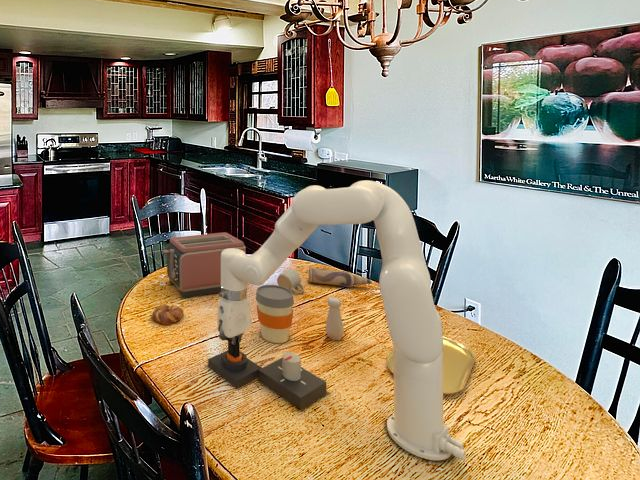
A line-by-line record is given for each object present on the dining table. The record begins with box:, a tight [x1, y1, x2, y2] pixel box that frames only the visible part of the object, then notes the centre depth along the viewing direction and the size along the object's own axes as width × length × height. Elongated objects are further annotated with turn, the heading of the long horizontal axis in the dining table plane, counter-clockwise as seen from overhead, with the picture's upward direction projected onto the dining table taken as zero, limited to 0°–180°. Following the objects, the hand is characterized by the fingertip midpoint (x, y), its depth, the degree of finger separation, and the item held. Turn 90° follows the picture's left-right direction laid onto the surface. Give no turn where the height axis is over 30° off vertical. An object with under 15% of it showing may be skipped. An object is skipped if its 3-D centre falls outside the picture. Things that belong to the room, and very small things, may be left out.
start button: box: [227, 353, 242, 362], centre depth 116 cm, size 4×4×2 cm
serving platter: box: [385, 336, 476, 396], centre depth 119 cm, size 19×35×2 cm, turn 134°
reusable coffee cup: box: [255, 284, 295, 344], centre depth 135 cm, size 13×13×15 cm
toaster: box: [162, 231, 247, 299], centre depth 177 cm, size 19×36×21 cm, turn 107°
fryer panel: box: [258, 357, 327, 410], centre depth 109 cm, size 14×11×3 cm
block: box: [207, 350, 262, 389], centre depth 116 cm, size 12×10×4 cm
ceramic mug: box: [276, 268, 305, 295], centre depth 172 cm, size 11×8×8 cm
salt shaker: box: [324, 296, 345, 341], centre depth 134 cm, size 6×6×13 cm
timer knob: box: [281, 351, 302, 381], centre depth 109 cm, size 5×5×5 cm
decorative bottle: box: [308, 266, 372, 289], centre depth 177 cm, size 26×8×7 cm, turn 71°
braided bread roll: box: [151, 304, 184, 326], centre depth 148 cm, size 12×11×4 cm
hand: (233, 354), depth 116 cm, fingers closed
